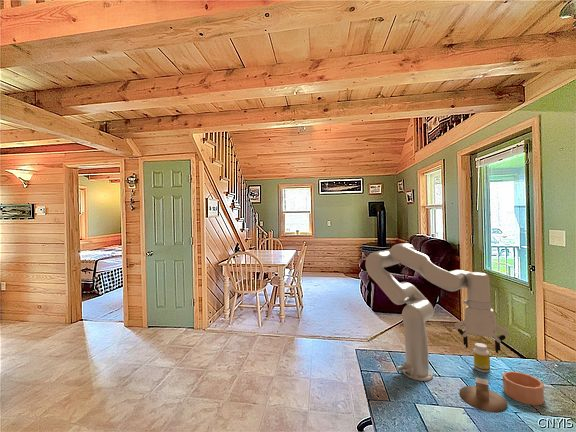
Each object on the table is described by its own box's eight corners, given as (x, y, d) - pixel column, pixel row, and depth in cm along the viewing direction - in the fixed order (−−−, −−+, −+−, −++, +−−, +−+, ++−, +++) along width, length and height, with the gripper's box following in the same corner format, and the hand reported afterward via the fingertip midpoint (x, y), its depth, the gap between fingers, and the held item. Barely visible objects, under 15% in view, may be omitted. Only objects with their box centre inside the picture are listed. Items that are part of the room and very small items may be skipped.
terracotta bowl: (527, 407, 102) (526, 390, 102) (496, 388, 114) (495, 373, 114) (552, 402, 104) (551, 385, 105) (519, 384, 116) (519, 369, 116)
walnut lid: (459, 404, 105) (458, 385, 106) (460, 384, 118) (459, 367, 118) (509, 418, 97) (508, 397, 97) (505, 395, 110) (504, 377, 110)
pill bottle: (493, 373, 125) (491, 348, 126) (477, 372, 127) (476, 347, 127) (486, 366, 131) (485, 342, 132) (471, 365, 133) (470, 341, 133)
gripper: (453, 304, 110) (455, 348, 110) (508, 310, 101) (511, 358, 101) (453, 299, 117) (455, 341, 116) (505, 305, 108) (508, 350, 107)
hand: (481, 349), depth 108 cm, fingers open, 9 cm apart
